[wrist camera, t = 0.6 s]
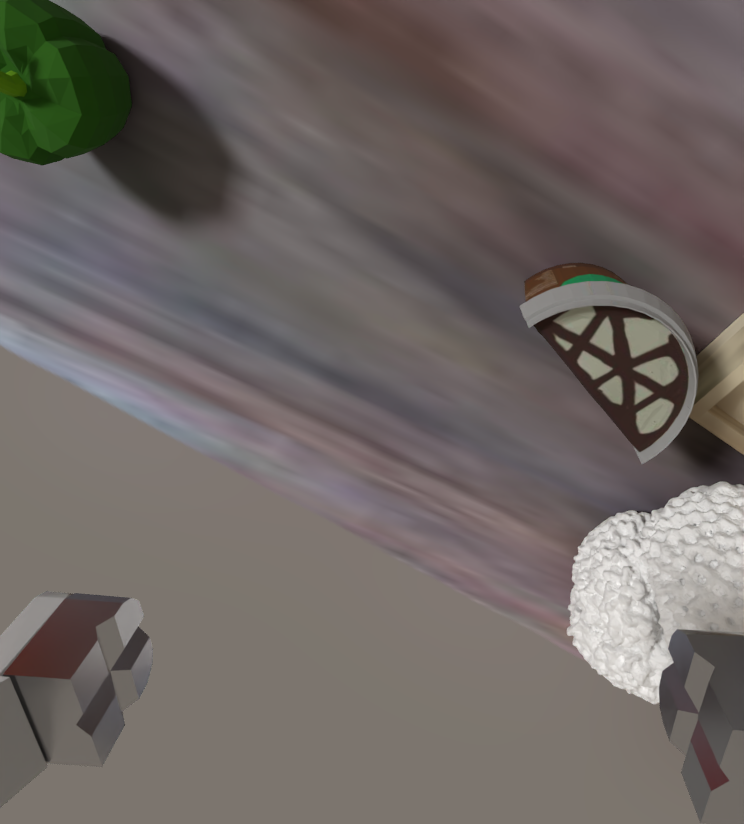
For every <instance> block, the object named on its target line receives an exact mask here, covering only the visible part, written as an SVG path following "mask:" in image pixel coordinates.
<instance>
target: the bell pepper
mask: <svg viewBox="0 0 744 824" xmlns="http://www.w3.org/2000/svg"><path fill="white" fill-rule="evenodd" d="M131 107H132V102H131V93H130V85H129V77H128V75H127V73H126V72H125V70H124V68H123V67H122V65H121V63H120V62H119V60H118V58H117V57H116V55H115V54H113V53H111V52H109V51H108V50H106V49H105V45H104V42H103V40H102V39H101V37H100V35H99V34H98V33H96V32H95V31H94V30H93V29H92V28H91V27H89V26H88V25H87V24H86V23H85V22H84V21H82V20H81V19H80V18H78V17H76V16H75V15H73V14H72V13H70V12H69V11H67V10H66V9H64V8H62V7H60V6H58V5H57V4H55V3H53V2H51V1H49V0H0V153H2V154H4V155H7V156H9V157H11V158H14V159H18V160H22V161H26V162H31V163H35V164H39V165H46V164H49V163H53V162H57V161H60V160H62V159H64V158H70V157H74V156H78V155H81V154H85V153H87V152H89V151H91V150H93V149H95V148H97V147H100V146H102V145H104V144H105V143H106V142H108V141H109V140H110V139H112V138H113V137H114V136H116V135H117V134H118V133H119V132H120V131H121V130H122V129H123V127H124V125H125V122H126V120H127V117H128V114H129V112H130V109H131Z"/></svg>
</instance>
